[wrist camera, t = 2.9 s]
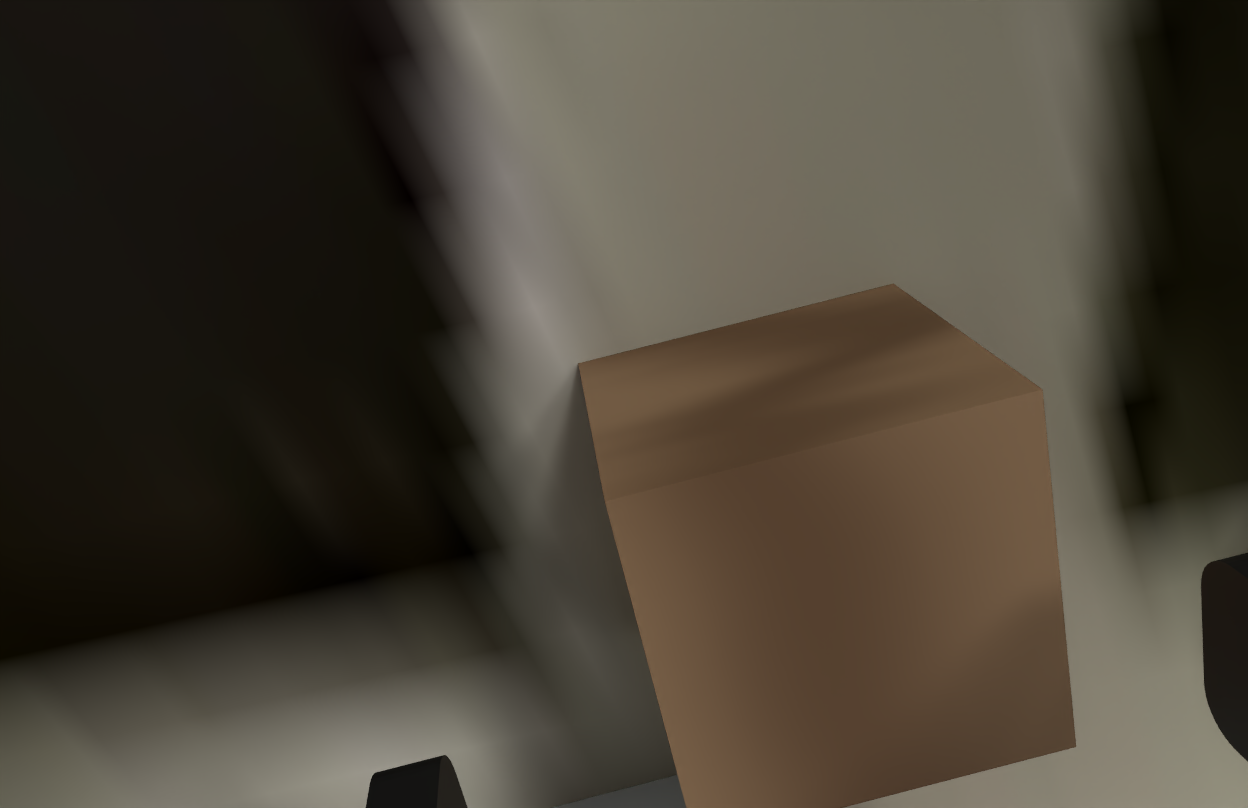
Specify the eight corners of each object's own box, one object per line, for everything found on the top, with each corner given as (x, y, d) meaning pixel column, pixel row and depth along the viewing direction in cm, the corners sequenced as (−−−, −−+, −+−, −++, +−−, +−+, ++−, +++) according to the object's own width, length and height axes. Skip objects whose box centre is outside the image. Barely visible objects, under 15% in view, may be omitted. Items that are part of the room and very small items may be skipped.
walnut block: (891, 282, 16) (1042, 389, 12) (931, 558, 18) (1076, 746, 14) (577, 362, 16) (604, 501, 12) (648, 631, 18) (695, 845, 14)
